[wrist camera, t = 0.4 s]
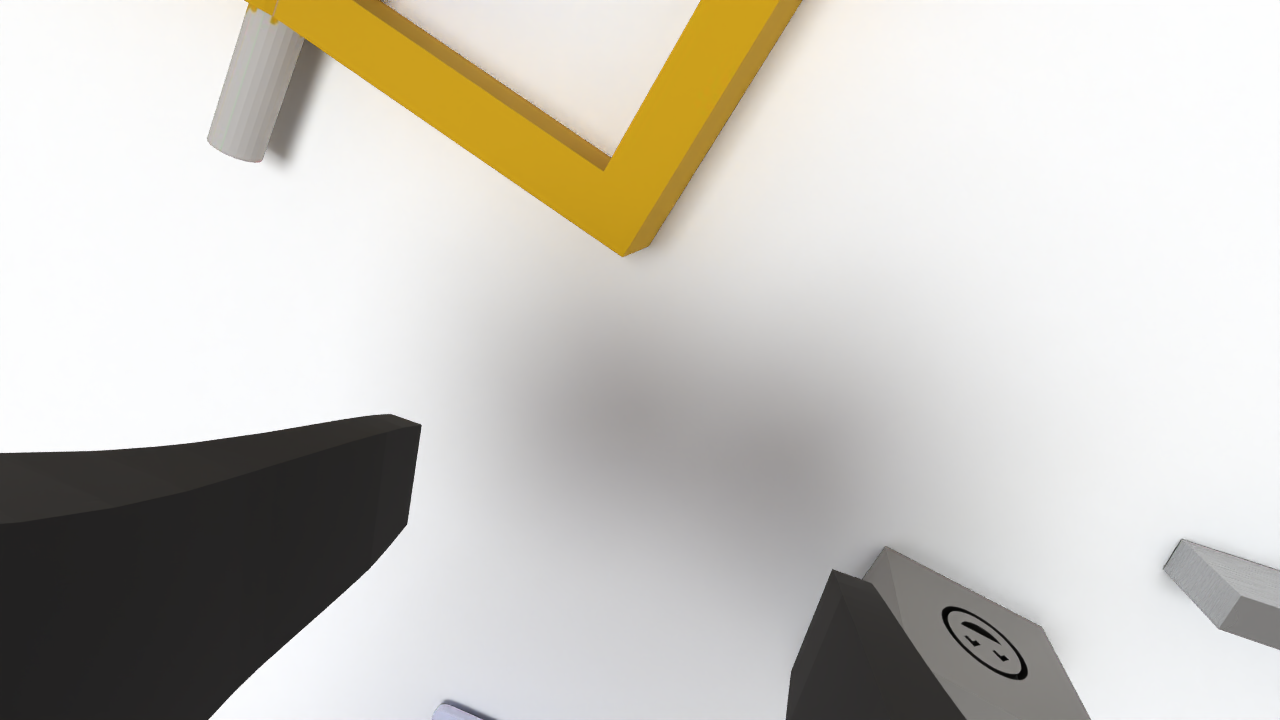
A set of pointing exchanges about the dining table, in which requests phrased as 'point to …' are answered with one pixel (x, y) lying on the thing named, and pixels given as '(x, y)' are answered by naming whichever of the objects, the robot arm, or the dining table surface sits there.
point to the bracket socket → (1230, 591)
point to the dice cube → (976, 646)
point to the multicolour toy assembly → (514, 104)
